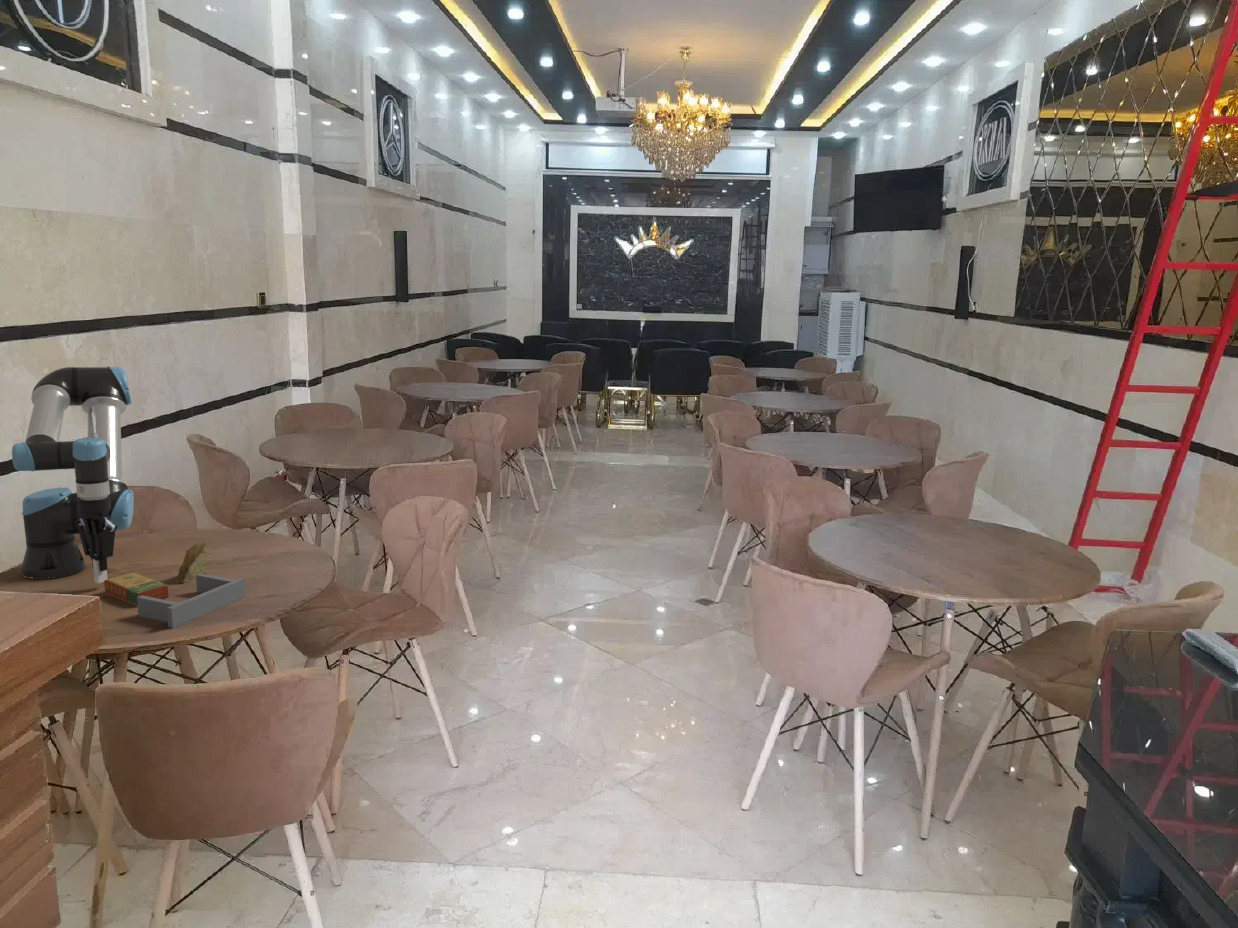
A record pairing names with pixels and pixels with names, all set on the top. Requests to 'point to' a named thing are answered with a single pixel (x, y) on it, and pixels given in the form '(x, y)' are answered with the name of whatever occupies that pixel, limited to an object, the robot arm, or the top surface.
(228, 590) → the u stop
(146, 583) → the carton
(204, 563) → the rock
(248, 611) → the top surface
